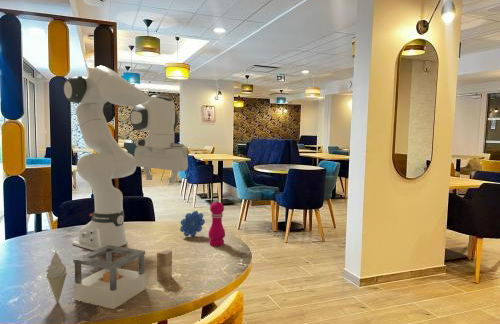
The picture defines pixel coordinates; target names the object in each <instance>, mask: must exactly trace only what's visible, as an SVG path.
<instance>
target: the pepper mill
mask: <svg viewBox="0 0 500 324" xmlns="http://www.w3.org/2000/svg"><path fill="white" fill-rule="evenodd" d="M209 210H210V212H211V213H210V215H211V216H210V217H211V221H212V222H211V226H210V227H209V231H208V238H209V246H211V247H221V246H224V244H225V240H224V238H225V237H226V230H225V228H224V225H223V222H222V221H223V220H222V219H223V217H224V216H223V215H224V210H225V206H224V204H223V203H222V202H220V199H219V198H215V200H214V202H211V205H210V206H209Z"/></svg>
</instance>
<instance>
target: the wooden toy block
mask: <svg viewBox="0 0 500 324" xmlns="http://www.w3.org/2000/svg"><path fill="white" fill-rule="evenodd" d="M172 278H173V251H172V250H168V249H167V250H166V249H161V250H160V251H158V252H156V280H158V281H163V282H167V281H169V280H171V279H172Z"/></svg>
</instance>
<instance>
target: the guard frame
mask: <svg viewBox="0 0 500 324" xmlns="http://www.w3.org/2000/svg"><path fill="white" fill-rule="evenodd" d="M113 253H116V254H120V255H121V254H123V255H124V256H122V257H120V258H119V259H116V260H113V257H112V254H113ZM102 255H105V260H102V259H96V258H98V257H100V256H102ZM145 255H146V250H142V249H138V248H137V249H136V248H130V247H123V246H120V247H117V246H110V245H108V246H105V247H103V248H100V249H98V250H92V251H91V252H88V253H86V254H83V255H81V256H78V257H76V258H73V259H72V260H73V264H74V283H77V284H79V283H81V282H82V279H83V278H82V265H83V266H89V267H95V268H101V269H110V290H111V291H115V290H116V289H117V275H116V268H120V267H122V266H124V265H126V264H128V263H130V262H132V261H134V260H136V259H138V272H139V274H144V273H145ZM112 260H113V261H112Z"/></svg>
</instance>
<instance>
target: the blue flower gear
mask: <svg viewBox="0 0 500 324" xmlns="http://www.w3.org/2000/svg"><path fill="white" fill-rule="evenodd" d="M184 217H185V218H183V219H181V221H180V225H181V226H180V228H179V230H180V232H181V233H183V236H184V237H189V236H191V237H195V236H196V235H197V233H200V232H201V231H203V227H202V226H204V225H205V224H206V223H205V219H204V214H203V213H202V212H200V213H199V212H198V210H193V211H192V213H191V212H188V213H186V214H185V216H184Z"/></svg>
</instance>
